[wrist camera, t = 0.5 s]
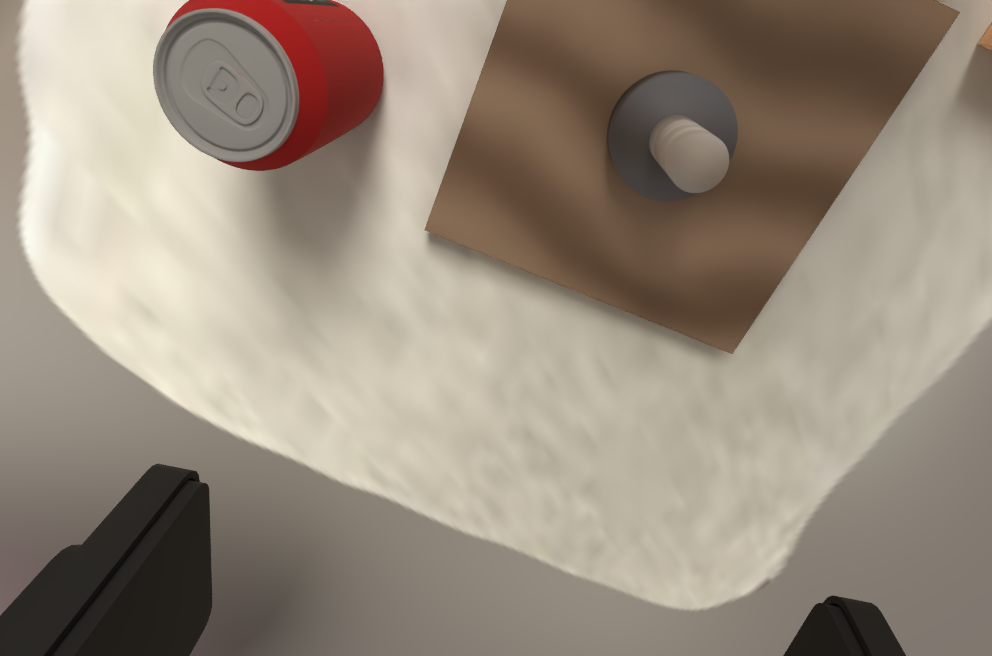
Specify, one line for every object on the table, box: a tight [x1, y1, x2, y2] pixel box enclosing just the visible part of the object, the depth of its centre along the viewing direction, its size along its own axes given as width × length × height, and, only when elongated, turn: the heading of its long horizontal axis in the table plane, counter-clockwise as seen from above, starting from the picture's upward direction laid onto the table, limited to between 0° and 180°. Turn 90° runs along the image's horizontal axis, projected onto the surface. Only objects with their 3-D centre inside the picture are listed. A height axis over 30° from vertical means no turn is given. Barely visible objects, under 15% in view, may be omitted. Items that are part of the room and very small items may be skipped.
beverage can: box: [153, 0, 383, 171], centre depth 28 cm, size 7×7×12 cm
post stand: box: [425, 0, 960, 354], centre depth 30 cm, size 20×20×10 cm
